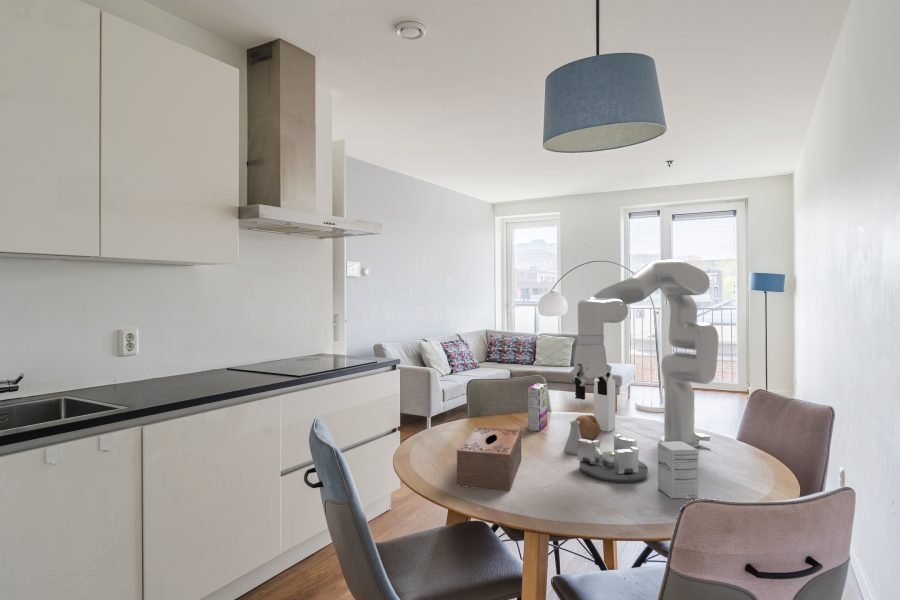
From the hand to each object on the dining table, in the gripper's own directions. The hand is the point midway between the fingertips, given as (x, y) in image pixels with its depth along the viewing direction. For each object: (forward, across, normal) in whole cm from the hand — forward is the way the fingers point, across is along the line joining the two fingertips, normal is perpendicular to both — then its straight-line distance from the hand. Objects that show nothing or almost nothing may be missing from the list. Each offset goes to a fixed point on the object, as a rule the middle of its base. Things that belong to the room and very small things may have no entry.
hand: (591, 396), depth 154 cm
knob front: (+19, +4, +2) cm, 19 cm away
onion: (+22, -19, -19) cm, 34 cm away
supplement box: (+21, -1, +27) cm, 35 cm away
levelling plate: (+21, 0, +7) cm, 22 cm away
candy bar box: (+21, -16, -42) cm, 49 cm away
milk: (+22, -36, -25) cm, 49 cm away
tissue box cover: (+21, +30, -12) cm, 38 cm away
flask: (+21, -5, -12) cm, 25 cm away
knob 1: (+19, -7, +6) cm, 21 cm away
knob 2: (+19, +2, +14) cm, 23 cm away
